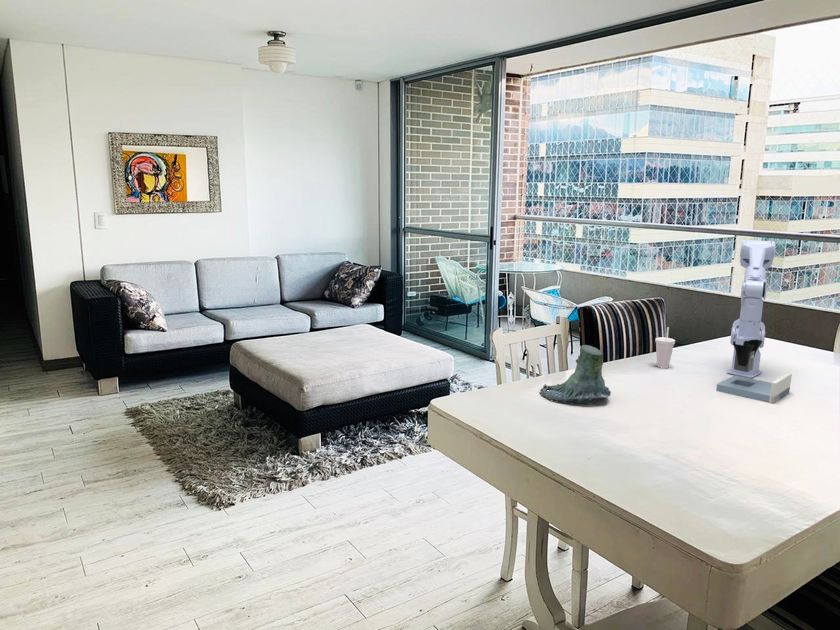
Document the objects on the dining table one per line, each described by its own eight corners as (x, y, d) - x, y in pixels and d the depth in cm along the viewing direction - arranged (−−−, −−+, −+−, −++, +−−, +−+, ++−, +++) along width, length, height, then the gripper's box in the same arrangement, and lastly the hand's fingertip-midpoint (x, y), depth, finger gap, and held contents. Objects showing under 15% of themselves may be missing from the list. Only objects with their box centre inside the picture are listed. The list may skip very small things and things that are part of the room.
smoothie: (669, 370, 214) (673, 329, 212) (650, 367, 218) (653, 327, 215) (675, 366, 219) (678, 326, 217) (656, 363, 223) (659, 324, 220)
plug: (738, 366, 197) (740, 348, 196) (753, 369, 194) (755, 350, 193) (733, 369, 194) (735, 350, 193) (748, 372, 191) (750, 353, 190)
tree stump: (559, 383, 201) (576, 331, 196) (615, 412, 189) (635, 358, 184) (527, 393, 188) (544, 337, 182) (586, 426, 176) (606, 367, 170)
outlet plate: (733, 381, 203) (735, 362, 202) (789, 393, 192) (791, 373, 191) (716, 390, 194) (718, 371, 193) (773, 403, 183) (776, 383, 181)
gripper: (745, 315, 199) (740, 357, 201) (726, 321, 189) (722, 365, 191) (769, 318, 194) (764, 361, 196) (752, 325, 184) (747, 370, 186)
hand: (745, 364), depth 193 cm, fingers closed on plug, 4 cm apart
